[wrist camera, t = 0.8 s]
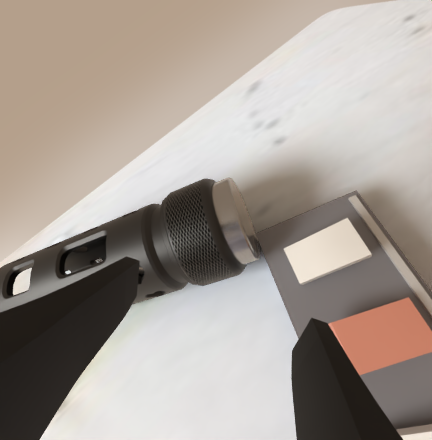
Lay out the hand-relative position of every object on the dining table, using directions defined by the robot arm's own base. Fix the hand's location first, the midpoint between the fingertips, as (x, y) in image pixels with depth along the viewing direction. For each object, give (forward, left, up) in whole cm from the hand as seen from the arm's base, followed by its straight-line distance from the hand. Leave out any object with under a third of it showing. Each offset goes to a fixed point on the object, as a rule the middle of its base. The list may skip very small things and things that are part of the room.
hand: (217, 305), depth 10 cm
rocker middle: (-3, -7, -12) cm, 14 cm away
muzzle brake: (+10, +12, -16) cm, 22 cm away
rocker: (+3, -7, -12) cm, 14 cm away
